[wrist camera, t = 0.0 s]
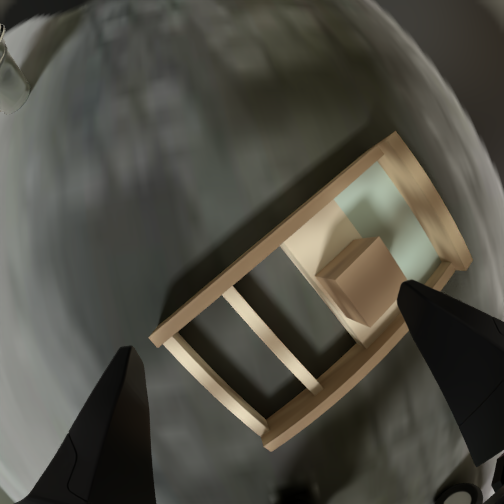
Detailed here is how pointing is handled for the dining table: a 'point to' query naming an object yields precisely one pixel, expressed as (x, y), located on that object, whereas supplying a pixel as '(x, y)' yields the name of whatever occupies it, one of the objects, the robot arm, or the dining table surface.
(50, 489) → the robot arm
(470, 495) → the portable speaker
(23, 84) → the cup with straw
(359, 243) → the walnut block
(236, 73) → the dining table surface
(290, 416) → the board
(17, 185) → the dining table surface
